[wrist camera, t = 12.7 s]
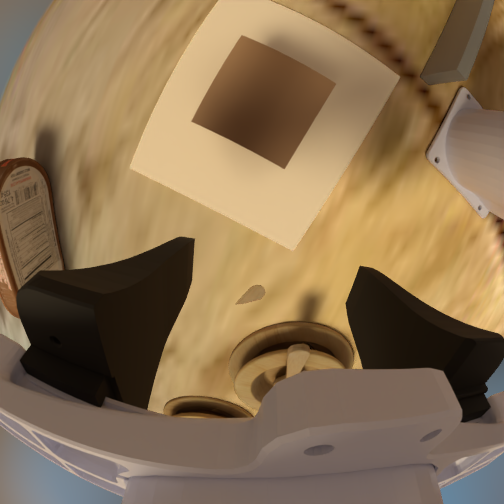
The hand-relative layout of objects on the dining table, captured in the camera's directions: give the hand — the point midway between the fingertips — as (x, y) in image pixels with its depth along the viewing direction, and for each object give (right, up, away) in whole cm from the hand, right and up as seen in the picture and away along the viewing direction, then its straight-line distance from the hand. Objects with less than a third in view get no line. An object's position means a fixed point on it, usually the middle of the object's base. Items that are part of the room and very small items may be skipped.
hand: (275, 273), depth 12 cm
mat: (0, +11, +5) cm, 12 cm away
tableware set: (-2, -17, +20) cm, 26 cm away
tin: (-21, +4, +10) cm, 23 cm away
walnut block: (0, +10, +5) cm, 12 cm away
